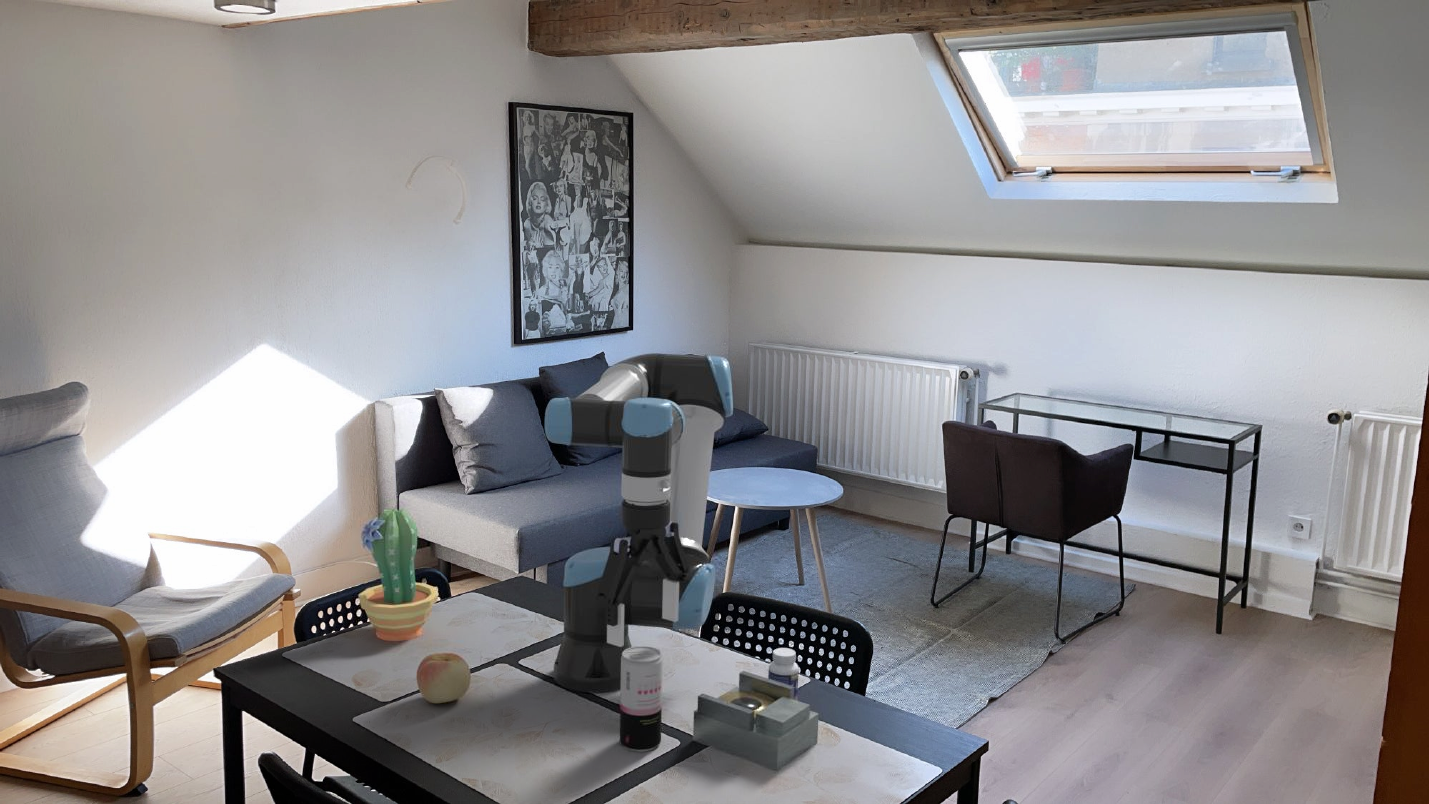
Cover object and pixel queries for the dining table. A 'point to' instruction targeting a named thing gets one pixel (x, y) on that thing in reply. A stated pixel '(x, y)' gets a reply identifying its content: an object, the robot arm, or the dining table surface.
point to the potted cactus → (395, 578)
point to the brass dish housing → (757, 722)
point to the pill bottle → (784, 668)
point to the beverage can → (641, 698)
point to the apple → (443, 677)
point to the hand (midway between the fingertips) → (643, 631)
